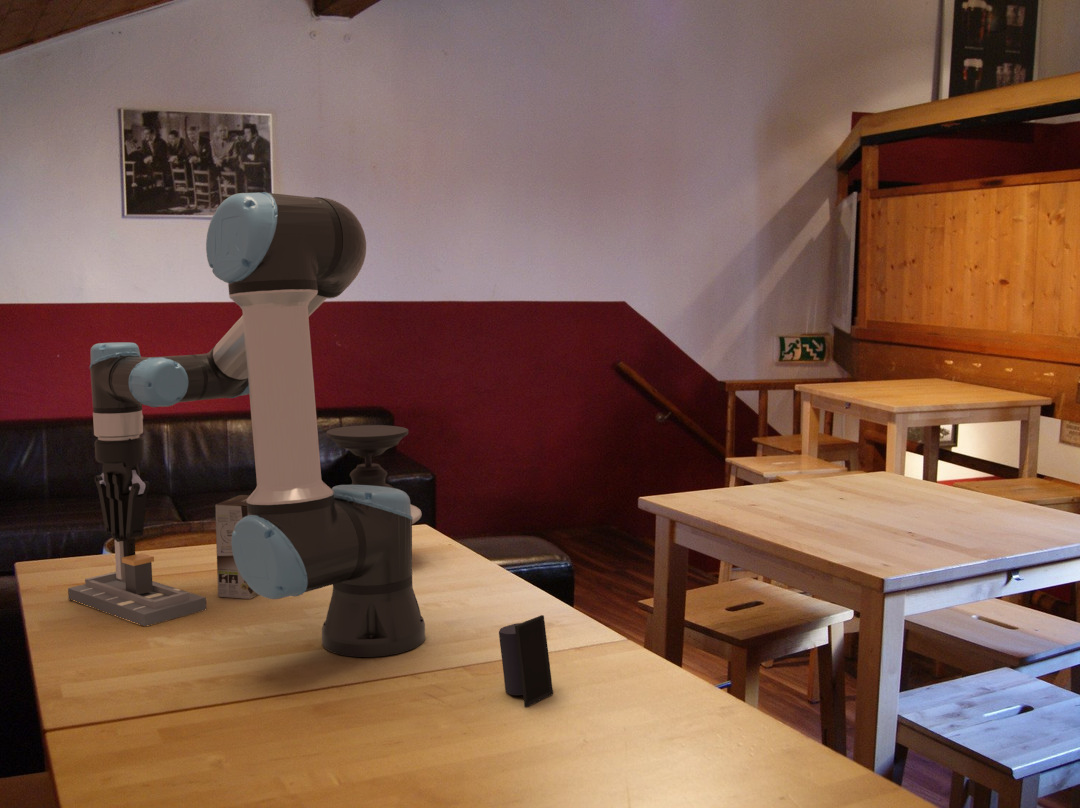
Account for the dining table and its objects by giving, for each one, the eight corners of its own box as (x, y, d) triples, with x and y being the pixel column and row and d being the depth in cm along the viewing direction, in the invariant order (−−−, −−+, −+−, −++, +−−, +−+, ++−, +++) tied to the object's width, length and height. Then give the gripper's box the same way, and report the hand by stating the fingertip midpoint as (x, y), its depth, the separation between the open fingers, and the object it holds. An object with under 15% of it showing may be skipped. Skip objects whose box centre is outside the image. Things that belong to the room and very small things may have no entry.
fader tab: (155, 590, 172) (153, 556, 171) (135, 596, 169) (133, 561, 168) (143, 587, 174) (141, 553, 173) (123, 592, 171) (121, 557, 171)
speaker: (565, 696, 133) (557, 616, 133) (525, 708, 130) (517, 626, 130) (535, 682, 140) (528, 606, 139) (497, 693, 137) (489, 616, 136)
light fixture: (314, 554, 204) (310, 425, 201) (413, 547, 209) (411, 421, 206) (322, 582, 185) (318, 440, 182) (430, 573, 190) (428, 435, 188)
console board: (206, 609, 170) (205, 590, 169) (144, 627, 161) (144, 606, 161) (129, 584, 184) (128, 567, 183) (68, 599, 175) (67, 581, 175)
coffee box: (252, 599, 175) (248, 505, 173) (216, 597, 176) (213, 503, 174) (276, 584, 184) (273, 494, 182) (242, 582, 185) (239, 493, 183)
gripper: (162, 437, 170) (168, 578, 173) (119, 431, 178) (125, 566, 181) (119, 443, 164) (126, 589, 167) (76, 436, 172) (84, 575, 175)
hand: (126, 576), depth 174 cm, fingers closed
